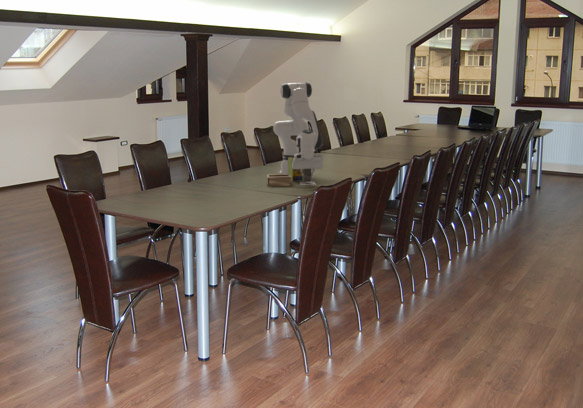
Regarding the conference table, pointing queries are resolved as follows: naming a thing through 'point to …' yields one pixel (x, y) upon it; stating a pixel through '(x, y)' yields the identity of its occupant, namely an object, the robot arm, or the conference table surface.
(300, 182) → the felt pad
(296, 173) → the protein box
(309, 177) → the capped block
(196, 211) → the conference table surface
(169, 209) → the conference table surface
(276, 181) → the brown wooden open box
